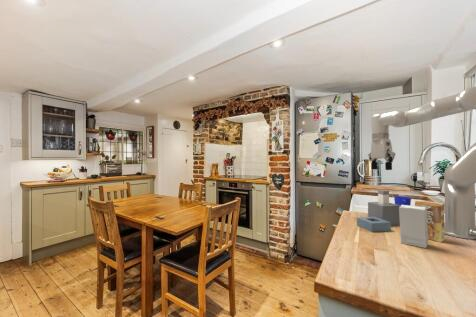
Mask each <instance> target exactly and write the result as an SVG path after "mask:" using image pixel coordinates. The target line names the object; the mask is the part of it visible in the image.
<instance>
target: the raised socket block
mask: <svg viewBox="0 0 476 317" xmlns="http://www.w3.org/2000/svg"><path fill="white" fill-rule="evenodd" d="M399 207H400V205H397V204H395V203H392V202H389V205H382V204H378V201H368V202H367V217H377V218H380V219H383V220H386V221H388V222H391V227H392V226H400V216H399Z"/></svg>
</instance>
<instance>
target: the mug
mask: <svg viewBox="0 0 476 317" xmlns="http://www.w3.org/2000/svg"><path fill="white" fill-rule="evenodd" d="M393 198H394V199H393V200H394V204H397V205H400V206H401V205H409V206H411V204H412V197H409V196H403V195H402V196H401V195H400V196H399V195H396V196H393Z"/></svg>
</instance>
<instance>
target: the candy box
mask: <svg viewBox="0 0 476 317" xmlns="http://www.w3.org/2000/svg"><path fill="white" fill-rule="evenodd" d="M414 206H420V207H426V210H427V229H428V240H431V241H435V242H438V243H443V242H444V241H445V239H446V238H445V235H446V234H444V227H445V203H442V202H441V203H440V202H435V201H434V202H433V201H432V202H431V201H425V200H419V199H418V200H416V201H414Z"/></svg>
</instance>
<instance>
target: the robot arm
mask: <svg viewBox="0 0 476 317" xmlns="http://www.w3.org/2000/svg"><path fill="white" fill-rule="evenodd" d="M473 110H476V86H470V87H467V88H464V90H462V91H461V92H460V93H459V92H458V93H456V94H453V95H449V96H445V97H441V98H437V99H434V100H431V101H428V102H426V103H425V104H423V105H421V106H419V107H416V108H414V109H411V110H407V111H403V110H393V111H390V112H389V111H388V112H385V113H382V112H381V113H375V114H373V115H372V116H371V139H372V140H371V143H370V152H369V153H368V154H367V157H368V158H369V161H370V164H371V170H378V160H379V159H383V160H385V162H384V164H385V165H384V166H385V170H386V171H392V170H393V162H394V159H395V156H396V152H394V151H393V145H392V141H391V139H390V133H389V132H390V131H389V126H392V127H394V128H403V127H404V128H405V127H407V126H412V125H417V124H421V123H423V122H427V121H432V120H435V119H440V118H443V117H447V116H448V117H449V116H452V115H456V114H460V113H461V114H462V113H465V112H469V111H473ZM443 178H444V180H443V181H444V234H445V235H448V236H451V237H453V238H454V237H456V238H461V239H468V240H476V185H475V184H476V142H474V143H473V144H472V145H471V146H469V147H468V148H467V149H466V151H465V153H464V154H463V155H462V156H461V157H460V158H459V159H458V160H457V161H456V162H455V163H452V164H449V166H447V167H446V168H445V170H444V174H443Z"/></svg>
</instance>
